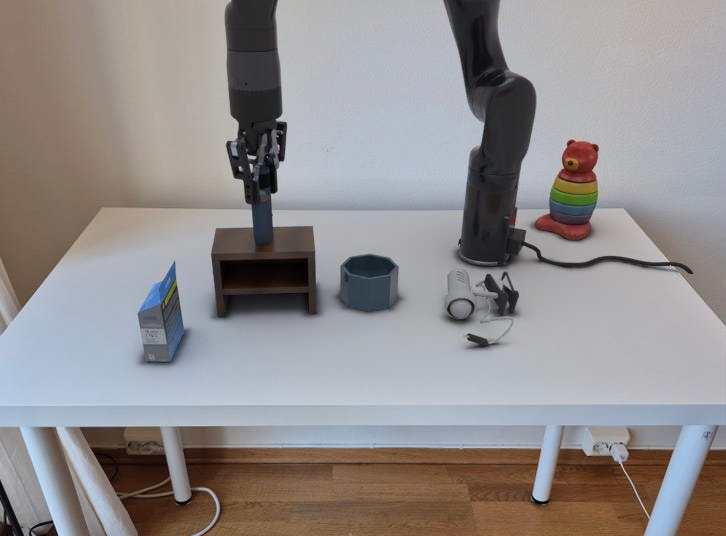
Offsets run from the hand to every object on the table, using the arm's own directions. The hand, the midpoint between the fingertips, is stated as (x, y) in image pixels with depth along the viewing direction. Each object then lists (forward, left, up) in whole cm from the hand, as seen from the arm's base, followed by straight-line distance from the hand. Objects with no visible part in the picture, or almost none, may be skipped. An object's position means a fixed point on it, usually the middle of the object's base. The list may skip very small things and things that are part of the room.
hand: (262, 197), depth 109 cm
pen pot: (-15, -8, -18) cm, 25 cm away
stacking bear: (-40, -54, -18) cm, 70 cm away
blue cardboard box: (+7, +19, -18) cm, 27 cm away
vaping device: (0, 0, -7) cm, 7 cm away
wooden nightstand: (0, 0, -18) cm, 18 cm away
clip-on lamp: (-34, -9, -18) cm, 40 cm away
